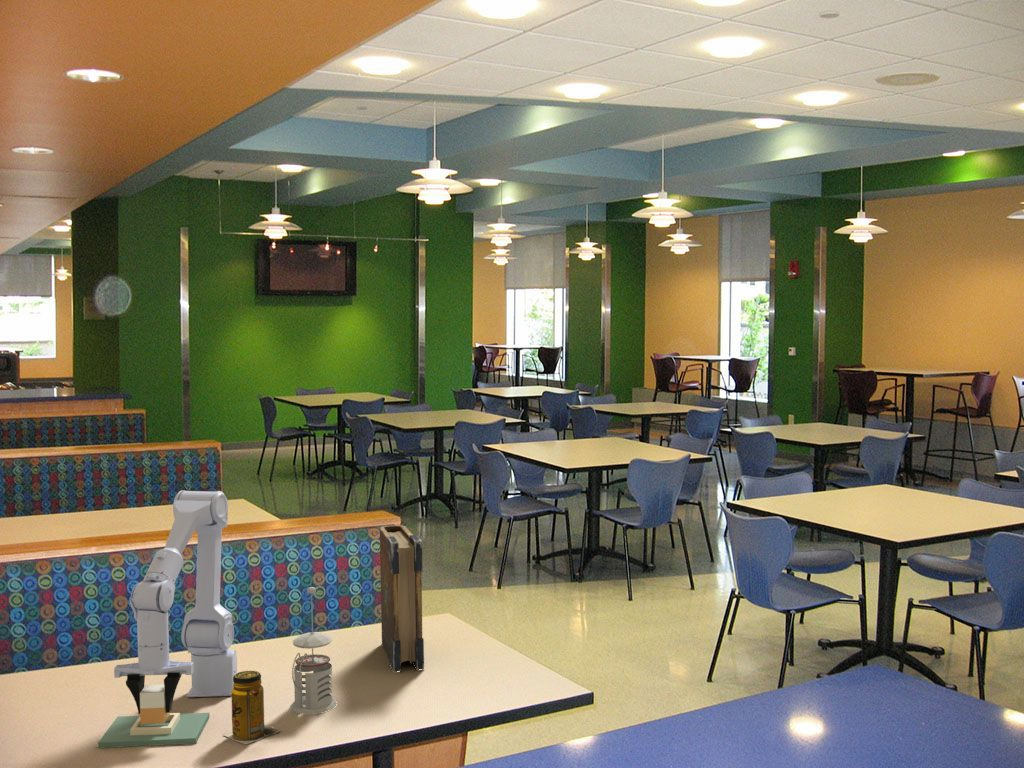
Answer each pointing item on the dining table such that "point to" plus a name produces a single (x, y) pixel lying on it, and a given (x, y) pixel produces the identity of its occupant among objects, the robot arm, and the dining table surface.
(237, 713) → the condiment
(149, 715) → the brick stack
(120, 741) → the base plate
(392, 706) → the dining table surface
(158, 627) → the robot arm
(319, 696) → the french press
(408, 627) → the decorative book
